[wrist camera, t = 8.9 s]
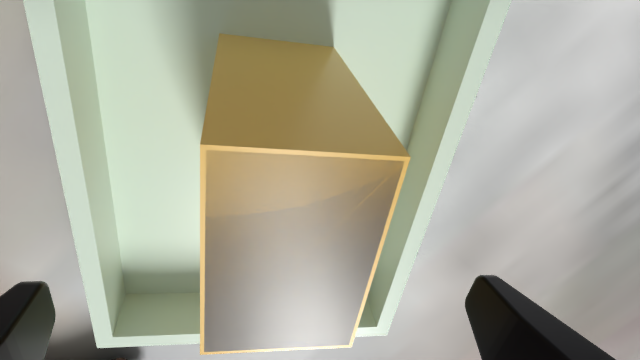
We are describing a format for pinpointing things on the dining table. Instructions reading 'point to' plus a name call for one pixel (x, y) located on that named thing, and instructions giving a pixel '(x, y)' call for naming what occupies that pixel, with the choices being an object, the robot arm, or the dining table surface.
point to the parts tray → (187, 124)
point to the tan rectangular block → (290, 198)
